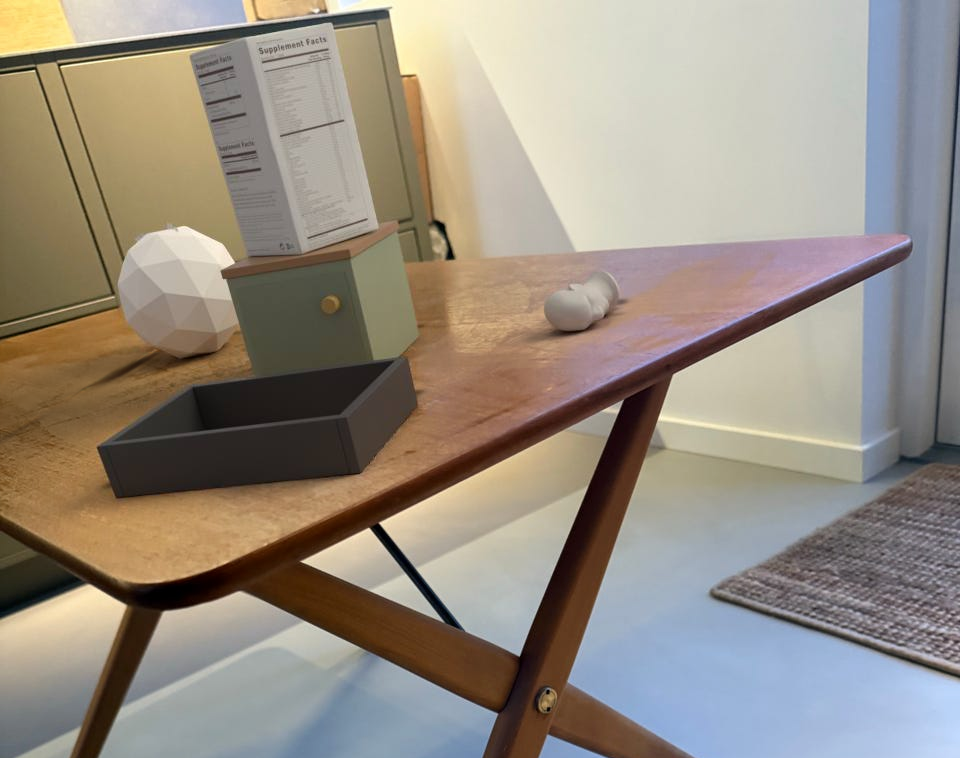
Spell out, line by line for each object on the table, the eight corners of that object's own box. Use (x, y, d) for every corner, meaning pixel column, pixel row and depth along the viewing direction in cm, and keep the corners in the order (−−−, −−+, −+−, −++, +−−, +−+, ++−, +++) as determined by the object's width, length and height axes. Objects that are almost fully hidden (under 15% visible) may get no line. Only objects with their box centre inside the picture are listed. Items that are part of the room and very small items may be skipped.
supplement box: (323, 233, 101) (276, 37, 93) (382, 229, 95) (336, 19, 86) (243, 257, 96) (184, 52, 88) (299, 255, 89) (242, 34, 81)
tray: (115, 498, 76) (95, 446, 74) (203, 430, 88) (188, 385, 86) (360, 473, 70) (346, 416, 68) (418, 405, 83) (407, 355, 81)
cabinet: (251, 397, 95) (214, 272, 90) (311, 351, 108) (281, 240, 103) (376, 381, 92) (345, 250, 87) (422, 335, 105) (397, 219, 99)
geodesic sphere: (72, 323, 116) (88, 207, 107) (159, 291, 127) (180, 183, 117) (175, 398, 115) (200, 288, 105) (254, 359, 125) (284, 255, 116)
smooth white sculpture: (572, 350, 93) (534, 329, 96) (634, 323, 97) (595, 304, 100) (575, 304, 90) (536, 285, 93) (639, 279, 94) (599, 261, 97)
